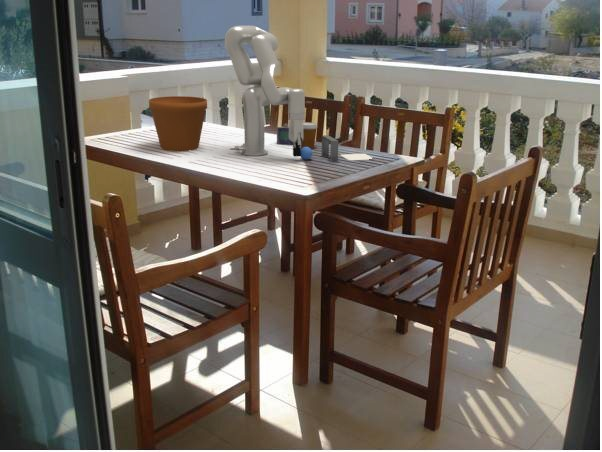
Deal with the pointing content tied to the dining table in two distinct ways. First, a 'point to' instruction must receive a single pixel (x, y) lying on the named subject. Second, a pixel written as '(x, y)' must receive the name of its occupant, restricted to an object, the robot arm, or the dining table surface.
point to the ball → (306, 153)
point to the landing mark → (356, 157)
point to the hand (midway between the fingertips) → (296, 156)
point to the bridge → (334, 148)
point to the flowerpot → (178, 121)
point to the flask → (283, 135)
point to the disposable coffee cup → (309, 134)
